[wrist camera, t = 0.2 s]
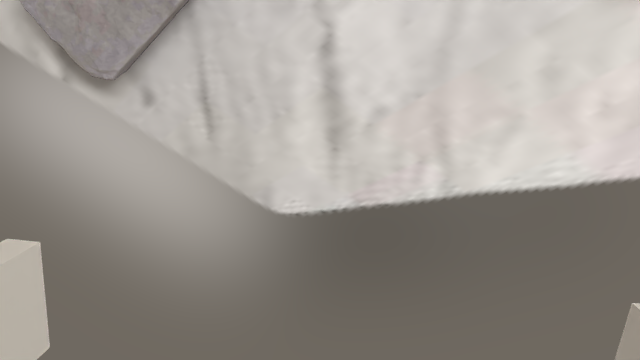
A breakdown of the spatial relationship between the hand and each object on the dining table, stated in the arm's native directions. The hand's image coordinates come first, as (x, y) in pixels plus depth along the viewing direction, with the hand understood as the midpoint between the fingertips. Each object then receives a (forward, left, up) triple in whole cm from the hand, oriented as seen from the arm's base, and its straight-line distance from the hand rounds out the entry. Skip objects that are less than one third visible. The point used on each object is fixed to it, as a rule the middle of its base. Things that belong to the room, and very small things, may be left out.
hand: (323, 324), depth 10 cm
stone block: (+13, -14, -28) cm, 34 cm away
